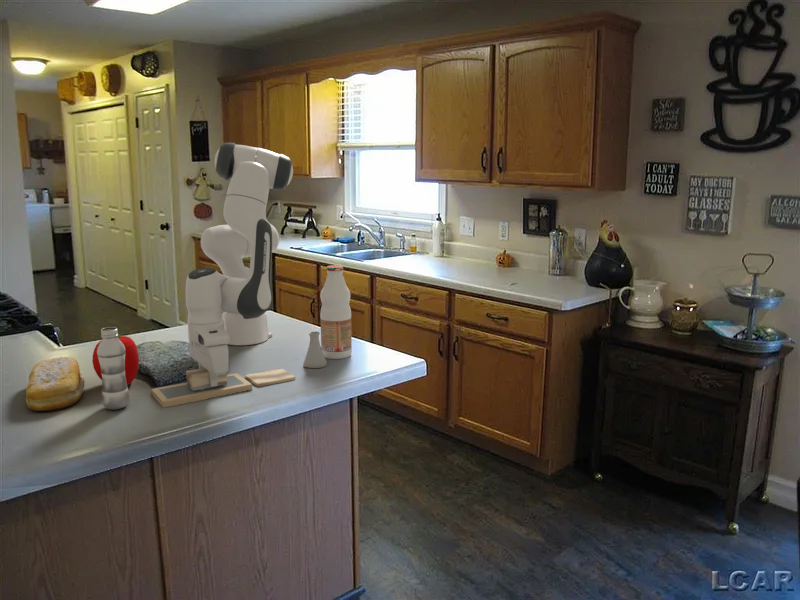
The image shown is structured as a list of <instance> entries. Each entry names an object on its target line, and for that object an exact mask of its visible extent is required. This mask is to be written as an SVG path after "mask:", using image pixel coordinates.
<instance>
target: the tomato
mask: <svg viewBox="0 0 800 600" xmlns="http://www.w3.org/2000/svg"><path fill="white" fill-rule="evenodd" d="M117 338H118V339H119V340H120V341H121V342H122V343H123V344H124V347H125V377H126V382H127V386H129V385H130V384H131V383H132V382H133V381H134V380H135V379H136V377H137V375H138V372H139V368H140V367H139V365H140V359H139V357H140V356H139V351H138V347H137V344H136V343H135V341H134V340H133V339H132V338H131V337H130V336H127V335H122V334H118V336H117ZM102 340H103V339H101V340H99V342H98V343H97V344H96V345H95V346H94V349H93V353H92V366H93V370H94V372H95V374H96V376H98V378H99V379H100V380H101V381H102V373H101V367H100V363H99V359H98V355H97V349H98V346H99V344H100V343H101V341H102Z"/></svg>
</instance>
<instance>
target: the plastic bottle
mask: <svg viewBox="0 0 800 600" xmlns="http://www.w3.org/2000/svg"><path fill="white" fill-rule="evenodd" d="M100 332H101V335H100V337H101V340H102V341H101V340H100V341H101V343H100V344H99V346H98V349H97V355H98V359H99V363H100V367H101V373H102V380H101V382H102V383H101V384H102V385H101V398H100V399H101V403H102V406H103V407H104V408H105V409H106V410H111V411H112V410H120V409H123V408H126V407H127V406H128V405H129V403H130V400H131V399H130V398H131V395H130V391H129V388H128V385H127V382H126V377H125V347H124V344H123V343H122V342H121V341H120V340H119V339H118V338H117V336H119V333H118V332H119V331H118V327H116V326H109V327H108V326H107V327H103V328H101V329H100Z"/></svg>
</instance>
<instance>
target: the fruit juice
mask: <svg viewBox="0 0 800 600" xmlns="http://www.w3.org/2000/svg"><path fill="white" fill-rule="evenodd" d="M343 272H344V266H343V265H340V264H339V265H337V264H336V265H334V264H333V265H328V266H326V273H327V275H326V279H325V282H324V284H323V287H322V289H321V291H320V297H319V298H320V300H321V303H322V304H321V307H320V346H321V349H322V352H323V354H324V357H325V359H329V360H341V359H343V360H344V359H348V358H349V357H351V355H352V344H353V343H352V342H353V340H352V309H351V306H350V300H351V291H350V289H349V287H348V286H347V283H346V280H345V277H344V275H343Z"/></svg>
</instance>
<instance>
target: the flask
mask: <svg viewBox="0 0 800 600" xmlns="http://www.w3.org/2000/svg"><path fill="white" fill-rule="evenodd" d="M308 335H309V344H308V348H307V351H306V355H305V357H304V361H303V365H302V366H303V368H309V369H319V368H320V369H321V368H324V367H326V366H328V362H327V358H325V357H324V354H323V352H322V349H321V341H320V339H319V338H320V335H321V332H320V331H314V330H313V331H309V332H308Z"/></svg>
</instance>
